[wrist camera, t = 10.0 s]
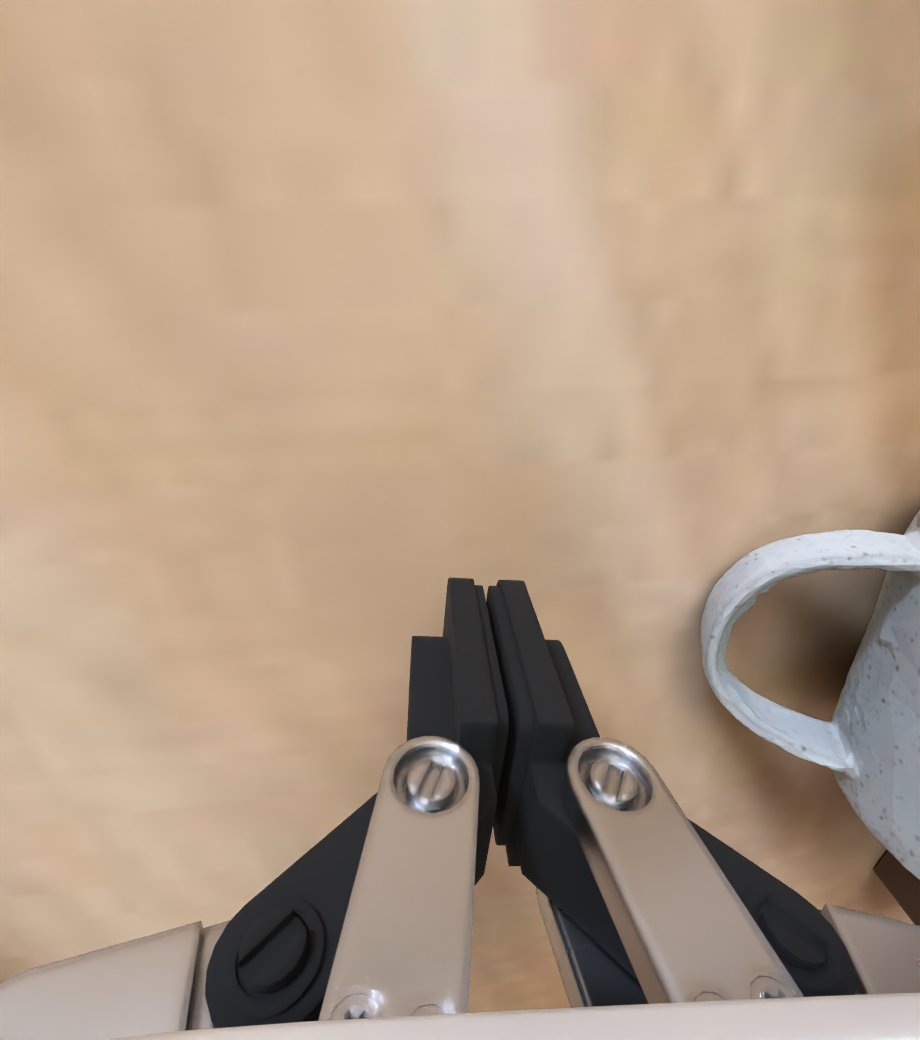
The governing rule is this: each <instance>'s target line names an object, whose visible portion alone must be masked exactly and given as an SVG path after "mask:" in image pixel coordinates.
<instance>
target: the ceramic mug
mask: <svg viewBox="0 0 920 1040" xmlns="http://www.w3.org/2000/svg"><path fill="white" fill-rule="evenodd" d="M869 568H880V569H883V570H887V573H886V575H885V578H884V581H883V584H882V587H881V590H880V593H879V597H878V600H877V603H876V606H875V609H874V612H873V615H872V618H871V620H870V623H869V625H868V627H867V630H866V632H865V634H864V637H863V639H862V641H861V644H860V646H859V648H858V651H857V653H856V656H855V658H854V661H853V663H852V666H851V668H850V670H849V673H848V675H847V679H846V683H845V685H844V687H843V689H842V692H841V694H840V698H839V701H838V704H837V706H836V709H835V711H834V713H833V717H832V721H831V722H830V721H823V720H818V719H814V718H812V717H810V716H807V715H804V714H801V713H799V712H796V711H793V710H790V709H787V708H785V707H783V706H781V705H778V704H776V703H774V702H772V701H770V700H768V699H766V698H764V697H762V696H760V695H758V694H757V693H755V692H753V691H752V690H750V689H749V688H748V687H746V686H745V685H744V684H743V683H742V682H740V681H739V680H738V679H737V678H736V677H735V676H734V675H733V674H732V673H731V672H730V671H729V670H728V669H727V667H726V663H725V652H726V646H727V643H728V639H729V636H730V633H731V630H732V627H733V625H734V624H735V622H736V621H737V619H738V618H740V617H741V616H742V615H743V614H744V613H745V612H746V611H747V610H748V609H749V608H750V607H751V606H752V605H753V604H754V603H755V602H756V596H757V595H758V594H762V593H766V592H767V591H768V590H769V589H770V588H771V586H772V585H774V584H776V583H779V582H780V581H782V580H784V579H786V578H790V577H795V576H799V575H804V574H810V573H814V572H816V571H819V570H847V569H869ZM701 644H702V663H703V669H704V673H705V677H706V679H707V680H708V682H709V684H710V686H711V688H712V690H713V692H714V694H715V696H716V697H717V698H718V700H719V701H720V702H721V703H722V705H723V706H724V707H725V708H726V709H727V710H728V711H729V712H730V713H731V714H732V715H733V716H734V717H735V718H736V719H737V720H738V721H739V722H740V723H742V724H743V725H744V726H746V727H747V728H749V729H750V730H752V731H753V732H754V733H756V734H757V735H759V736H760V737H762V738H763V739H765V740H766V741H768V742H770V743H772V744H774V745H776V746H777V747H779V748H781V749H783V750H785V751H787V752H789V753H791V754H793V755H795V756H797V757H800V758H802V759H805V760H807V761H810V762H813V763H815V764H818V765H821V766H824V767H827V768H830V769H832V770H833V773H834V776H835V779H836V781H837V783H838V785H839V787H840V789H841V790H842V792H843V794H844V795H845V797H846V798H847V800H848V802H849V803H850V805H851V806H852V808H853V809H854V811H855V812H856V814H857V815H858V817H859V818H860V819H861V821H862V822H863V823H864V824H865V826H866V827H867V828H868V830H869V831H870V832H871V833H872V834H873V835H874V836H875V837H876V838H877V839H878V840H879V841H880V843H881V844H882V845H883V846H884V847H885V848H886V849H887V850H888V851H889V852H890V853H891V854H892V855H893V856H894V857H895V858H896V859H897V860H898V861H899V862H900V863H901V864H902V865H903V866H904V867H905V868H906V869H907V870H909V871H910V872H911V873H912V874H914V875H915V876H916V877H917V878H918V879H920V509H919V511H918V513H917V514H916V516H915V517H914V519H913V521H912V522H911V524H910V526H909V527H908V529H907V530H906V532H905V533H904V535H899V534H893V533H883V532H875V531H870V530H837V531H830V532H823V533H811V534H804V535H800V536H796V537H793V538H785V539H781V540H777V541H775V542H772V543H770V544H767V545H765V546H762V547H760V548H758V549H756V550H754V551H752V552H751V553H749V554H748V555H746V556H744V557H743V558H741V559H740V560H739V561H738V562H737V563H735V564H734V565H733V566H732V567H731V568H730V569H729V570H728V571H727V572H726V573H725V574H724V575H723V576H722V577H721V578H720V579H719V581H718V582H717V583H716V584H715V586H714V587H713V589H712V591H711V593H710V595H709V597H708V600H707V603H706V605H705V608H704V612H703V615H702V620H701Z"/></svg>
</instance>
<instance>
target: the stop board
mask: <svg viewBox="0 0 920 1040" xmlns="http://www.w3.org/2000/svg"><path fill="white" fill-rule="evenodd" d="M874 872H875V873H876V875H877V876H878V877H879V879H880V880H881V881H882V883H883V884H884V885H885V886H886V888H887V889H888V890H889V892H890V893H891V894H892V895H893V897H894V898H895V899H896V901H897V902H898V903H899V905H900V906H901V907H902V908H903V910H904V911H905V912H906V914H907V915H908V916H909V918H910V919H911V920H912V921H913V923H914V924H915V925H919V926H920V879H918V878H917V877H916V876H915V875H914V874H912V873H911V872H910V871H909V870H907V869H906V868H905V867H904V866H903V865H902V864H901V863H900V862H899V861H898V860H897V859H896V858H895V857H894V856H893V855H892V854H891V853H890V852H889V851H887V853H886V854H885V855H884V857H883V858H882V859H881V861H880V862H879V864H878V865H877V866H876V868H875V869H874Z"/></svg>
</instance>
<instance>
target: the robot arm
mask: <svg viewBox="0 0 920 1040" xmlns="http://www.w3.org/2000/svg"><path fill="white" fill-rule="evenodd" d="M492 827H493V829H494V836H495V842H496V844H497V845H506V851H507V857H508V864H509V866H521V871H522V874H523V875H524V876H525V877H526V878H527V879H528V880H530V881H531V882H532V883H533V884H534V885H535V886H536V894H537V899H538V905H539V908H540V912H541V915H542V918H543V921H544V924H545V927H546V931H547V934H548V937H549V940H550V943H551V946H552V950H553V953H554V956H555V959H556V962H557V965H558V969H559V972H560V975H561V978H562V981H563V984H564V988H565V991H566V994H567V997H568V1000H569V1003H570V1007H571V1008H555V1009H534V1010H514V1011H494V1012H476V1013H468V1007H469V987H470V966H471V946H472V925H473V905H474V886H475V885H476V884H477V882H478V881H479V880H480V879H481V877H482V876H483V875H484V871H485V865H486V860H487V854H488V849H489V843H490V838H491V832H492ZM0 1040H920V926H919V925H914V924H910V923H906V922H902V921H897V920H893V919H889V918H885V917H880V916H876V915H872V914H868V913H863V912H859V911H855V910H851V909H846V908H842V907H838V906H834V905H829V904H825V906H824V907H823V908H822V910H817V909H816V908H815V907H814V906H813V905H812V904H811V903H809V902H808V901H807V900H806V899H804V898H803V897H802V896H801V895H799V894H798V893H797V892H796V891H794V890H793V889H791V888H790V887H788V886H787V885H785V884H784V883H782V882H781V881H779V880H778V879H776V878H775V877H773V876H772V875H770V874H769V873H767V872H766V871H765V870H763V869H762V868H760V867H759V866H757V865H756V864H754V863H753V862H751V861H750V860H748V859H747V858H745V857H744V856H742V855H741V854H739V853H738V852H736V851H735V850H733V849H732V848H730V847H729V846H728V845H726V844H725V843H723V842H722V841H720V840H719V839H717V838H716V837H714V836H713V835H711V834H710V833H708V832H707V831H705V830H704V829H702V828H701V827H699V826H698V825H696V824H695V823H693V822H692V821H691V820H689V819H688V818H687V817H686V816H685V814H684V812H683V811H682V809H681V808H680V806H679V805H678V803H677V802H676V800H675V799H674V797H673V796H672V794H671V793H670V791H669V790H668V788H667V787H666V785H665V783H664V782H663V780H662V779H661V777H660V776H659V774H658V773H657V771H656V770H655V769H654V767H653V766H652V765H651V764H650V763H649V761H648V760H647V759H646V758H645V757H644V756H643V755H641V754H640V753H639V752H637V751H636V750H635V749H634V748H632V747H630V746H628V745H626V744H624V743H622V742H620V741H616V740H613V739H609V738H600V736H599V733H598V731H597V728H596V726H595V723H594V721H593V718H592V716H591V714H590V711H589V709H588V706H587V704H586V701H585V699H584V696H583V694H582V691H581V689H580V686H579V684H578V681H577V679H576V676H575V674H574V671H573V669H572V667H571V664H570V662H569V659H568V657H567V654H566V652H565V649H564V647H563V645H562V643H561V642H560V641H558V640H545V639H544V636H543V633H542V630H541V628H540V625H539V622H538V619H537V616H536V613H535V611H534V608H533V605H532V602H531V599H530V597H529V594H528V591H527V588H526V585H525V583H524V581H515V580H498V582H497V586H489V588H488V593H487V601H486V600H485V595H484V590H483V586H481V585H474V580H473V579H467V578H449V579H448V585H447V596H446V607H445V618H444V629H443V637H428V636H412V648H411V665H410V684H409V705H408V727H407V742H406V743H404V744H402V745H401V746H399V747H398V748H397V749H396V750H395V751H394V752H393V753H392V755H391V756H390V757H389V759H388V761H387V763H386V765H385V768H384V770H383V774H382V778H381V782H380V786H379V790H378V792H377V793H376V794H375V795H374V796H373V797H371V798H370V799H369V800H368V801H367V802H366V803H364V804H363V805H362V806H361V807H360V808H359V809H357V810H356V811H355V812H354V813H353V814H351V815H350V816H349V817H348V818H347V819H346V820H344V821H343V822H342V823H341V824H340V825H339V826H337V827H336V828H335V829H334V830H333V831H332V832H330V833H329V834H328V835H327V836H326V837H325V838H323V839H322V840H321V841H320V842H319V843H317V844H316V845H315V846H314V847H313V848H312V849H310V850H309V851H308V852H307V853H306V854H305V855H303V856H302V857H301V858H300V859H299V860H298V861H296V862H295V863H294V864H293V865H292V866H291V867H289V868H288V869H287V870H286V871H285V872H283V873H282V874H281V875H280V876H279V877H278V878H276V879H275V880H274V881H273V882H272V883H271V884H269V885H268V886H267V887H266V888H265V889H264V890H262V891H261V892H260V893H259V894H258V895H257V896H255V897H254V898H253V899H252V900H251V901H249V902H248V903H247V904H246V905H245V906H244V907H243V908H242V909H241V910H240V911H239V912H238V913H237V914H236V915H235V916H234V917H233V919H232V920H231V921H227V922H224V923H220V924H217V925H213V926H210V927H206V928H203V926H202V922H201V921H199V922H196V923H192V924H188V925H185V926H181V927H178V928H174V929H171V930H167V931H164V932H160V933H156V934H153V935H149V936H146V937H142V938H139V939H135V940H131V941H128V942H124V943H121V944H117V945H114V946H110V947H107V948H103V949H99V950H96V951H92V952H89V953H85V954H82V955H78V956H74V957H71V958H67V959H64V960H60V961H57V962H53V963H49V964H46V965H42V966H39V967H35V968H32V969H29V970H26V971H24V972H22V973H20V974H17V975H15V976H13V977H11V978H8V979H6V980H4V981H2V982H0Z"/></svg>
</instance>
